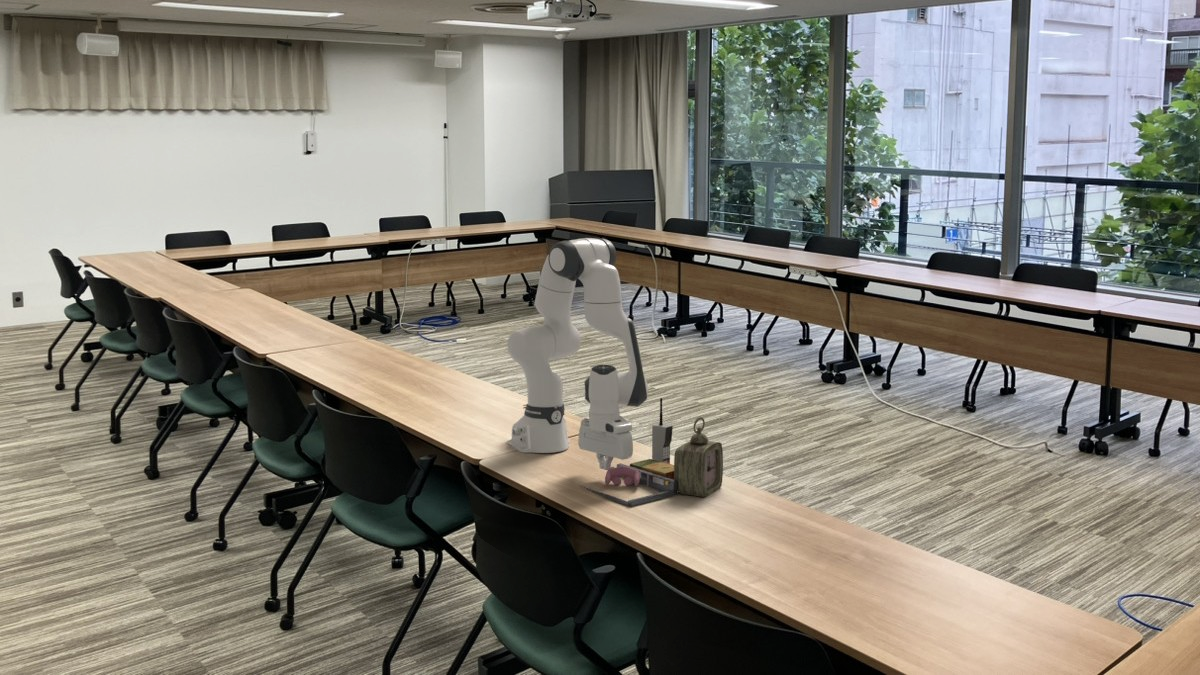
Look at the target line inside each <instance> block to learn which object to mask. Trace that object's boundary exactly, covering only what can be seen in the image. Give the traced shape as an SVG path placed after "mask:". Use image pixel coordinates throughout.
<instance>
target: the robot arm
mask: <svg viewBox="0 0 1200 675" xmlns="http://www.w3.org/2000/svg"><path fill="white" fill-rule="evenodd" d="M616 260H617V251H616V248H615V246H614V244H613V243H612V241H610V240H608V239H605V238H600V237H595V238H594V237H593V238H592V237H583V238H582V237H581V238H577V239H571V240H562V241H559V242H557V243H555V244H554V245H552V246H551V247H550V250H549V252H548V254H547V256H546V258H545V261H544V263H543V266H542V269H541V271H540V276H539V280H538V284H537V285H538V286H537V290H536V295H535V301H534V307H535V309H536V310H537V312H538V313H539V314H540V315H542V316H543V323H542V325H537V326H528V327H527V326H526V327H523V328H520V329H518V330H514V331H513V332H511V333H510V334H509V336H508V339H507V346H506V348H507V352H508V354H509V356H510V358H511V359H512V360H514V362H516V363H517V364H518V365H519V366H520V367H521V369H522V371H523V373H524V376H525V380H526V389H527V394H526V395H527V403H526V404H523V405H522V406H523V409H524V412H523V416H522V417H521V418H520V419H517V421H516V422H515V423H514V424H512V427H511V439H510V440H508V441H506V443H508V444H509V445H510V446H511V447H513V448H514V449H516V450H517V451H518V452H520V453H526V454H527V453H536V454H550V453H557V452H558V453H559V452H562V451H565V450H566V451H567V450H568V449H569V445H570V444H571V440H570V439H569V437H568V427H567V426H568V425H567V420H566V418H565V417H564V416H565V411H566V410H565V403H564V400H563V399H564V393H563V392H564V390H563V387H564V386H563V385H564V384H563V380H562V379H563V378H561V376H560V375H559V374H557V373H555V372H553V371H552V368H551V365H550V360H551V361H552V360H559V359H564V358H568V357H570V356H572V355H575V354H576V353H578V351H579V350H580V347H581V343H582V338H581V334H580V331H579V330H578V329H577V327H575V325H574V324H573V321H572V318H571V317H572V315H571V312H572V311H571V310H572V303H573V298H574V293H575V288H576V284H577V283H576V282H577V280H579V281H580V282H581V284H582V285H583V310H584V317H585V320H586V322H587V323H588V325H589V326H590V327H592V328H593V329H594V330H596V331H598V332H600V333H603V334H605V335H608V336H611V337H613V338H615V339H617V340H619V341H620V342H622V343H623V345H624V347H625V348H624V349H625V351H626V358H627V362H628V363H627V364H628V367H629V371H628V372H627V371H626V372H618V369H617V368H616V366H613V365H610V364H597V365H594V366H592V368H591V369H590V372H589V376H588V377H587V378H586V379H585V380H584V400H585V401H587V402H588V403H589V409H588V418H587V417H584V418H583V419H581V422H580V426H579V430H578V441H577V442H578V447H579V449H580V450H583V451H587V452H591V453H595V454H596V455H595V456H596V458H597V461H598V463H599V464H598V465H599V469H600V470H603V471H608V470H609V469H610V468H611V467H612V466H611V464H612V462H613V461H614V458H616V459H619V460H622V461H623V460H628V459H630V458H632V456H633V455H634V454H633V453H634V441H633V436H632V433H631V431H632V430H633V424H632V423H631V422H630V421H628V420H627V419H625V417H623V416H622V415H621V413H620V407H619V406H626V407H634V408H635V407H636V408H637V407H640V406H641V405H642V404H644V403H645V402H646V401H647V400H648V396H649V385H648V382H647V379H646V376H645V373H644V369H643V362H642V356H641V352H640V347H639V341H638V338H637V333H636V326H635V325H634V321H633V320H632V319H631V318H629V317H627V315H626V313H625V311H624V308H623V301H622V300H623V299H622V295H623V294H622V285H621V279H620V273H619V271H618V269H617V267H615V264H616Z"/></svg>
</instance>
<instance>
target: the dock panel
mask: <svg viewBox="0 0 1200 675" xmlns="http://www.w3.org/2000/svg"><path fill="white" fill-rule="evenodd" d="M618 466H628V467H630V468H632V467H631V466H630V465H628V464H625V463H621V462H620V463H616V467H618ZM635 469H636V470H637V471H638V472H639V474H640V480H639V484H640V485H641V484H642V485H644V486H646V487H647V488H650V489H653V490H654V491H657V493H653V494H650V495H645V496H641V497H638V498H637V497H636V498H632V499H629V500H624V499H622V498H619V497H616V496H613V495H611V494H607V493H604V492H601V491H599V490H596V489H593V488H590V487H588V486H584V485H582V487H581V488H583V487H584V489H585V488H586V489H585V490H587V489H588V490H587V491H589V490H590V491H589V492H591V491H592V492H591V493H594V494H596V495H598V496H600V497H602V498H605V499H608V500H609V501H613V502H615V503H618V504H621V505H624V506H627V507H630V508H632V507H636V506H639V505H644V504H647V503H651V502H656V501H659V500H660V501H661V500H664V499H667V498H671V497H675V496H678V493H679V492H678V481H676V480H673V479H670V478H666V477H663V476H660V475H657V474H653V473H650V472H647V471H644V470H640V469H637V468H635Z"/></svg>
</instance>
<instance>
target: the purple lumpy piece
mask: <svg viewBox="0 0 1200 675" xmlns="http://www.w3.org/2000/svg"><path fill="white" fill-rule="evenodd" d="M628 466H629V465H628ZM628 466H618V467H617V466H616V467H615V466H611V468H610V469H609V470H606V473H605V477H604V484H605V485H607V486H609V485H610V483H611V482H612V483H613V485H614V486H616V487H618V486H620V485H621V484H622V480H621V478H624V480H623V483H624V485H625V486H626V487H631V486H632V485H633V483H634V486H636V487H637V486H639V484H640V483H639V480H640V474H639V472H638V471H637V470H636V469H635V467H632V468H630V467H628Z"/></svg>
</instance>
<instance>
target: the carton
mask: <svg viewBox="0 0 1200 675" xmlns="http://www.w3.org/2000/svg"><path fill="white" fill-rule="evenodd" d="M629 466H631V467H635V468H637V469H640V470H644V471H647V472H650V473H653V474H657V475H660V476H663V477H666V478H670V479H673V480H674V464H671V463H670V464H668V463H664V462H660V461H656V460H652V458H648V459H643V460H640V461H636V462H632V463H629Z"/></svg>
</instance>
